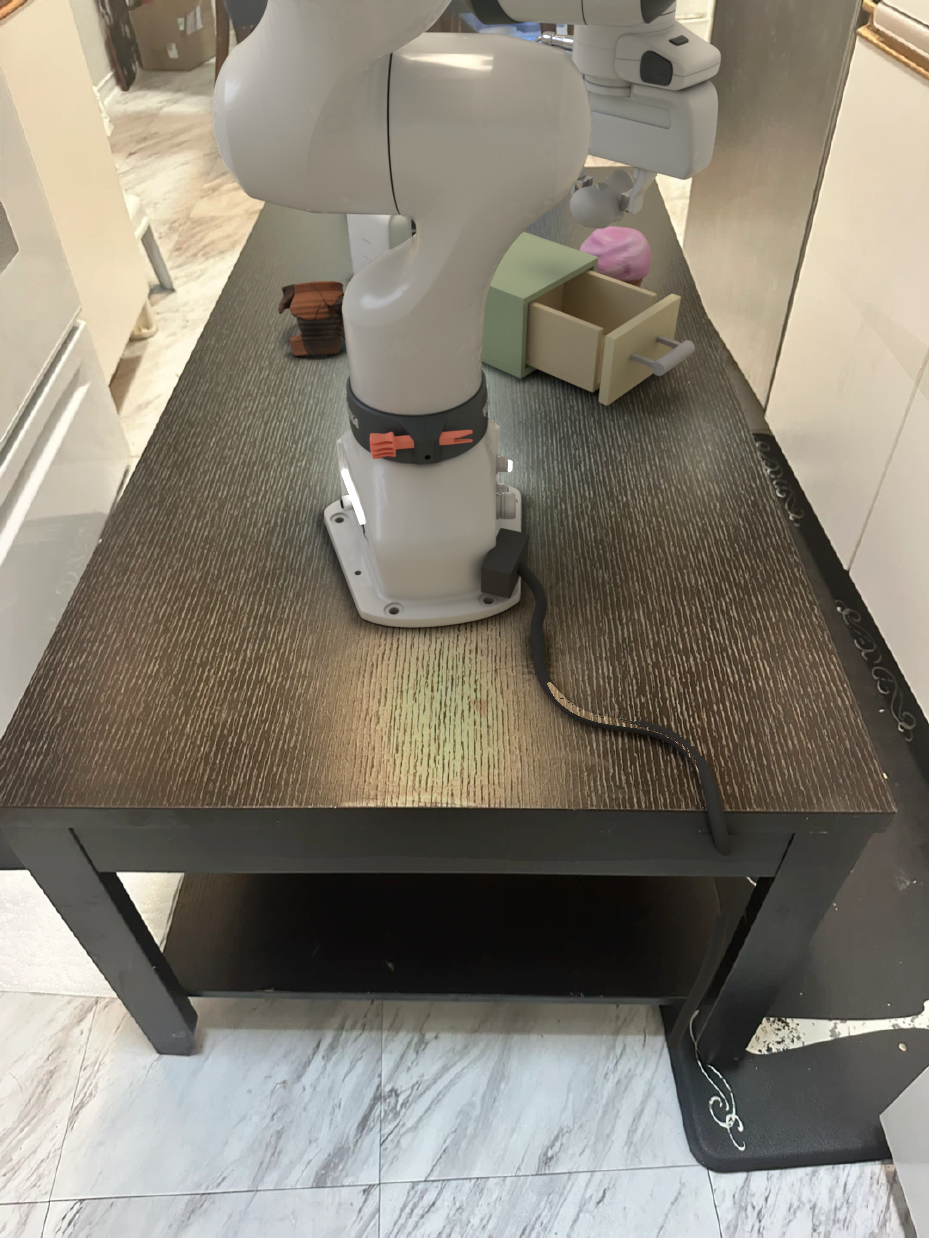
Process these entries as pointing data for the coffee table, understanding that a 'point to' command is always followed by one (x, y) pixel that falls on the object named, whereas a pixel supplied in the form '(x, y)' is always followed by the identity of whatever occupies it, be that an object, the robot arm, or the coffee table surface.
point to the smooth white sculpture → (601, 200)
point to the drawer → (603, 334)
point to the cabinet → (524, 296)
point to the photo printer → (375, 236)
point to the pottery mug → (315, 316)
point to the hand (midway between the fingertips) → (605, 204)
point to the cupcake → (620, 253)
